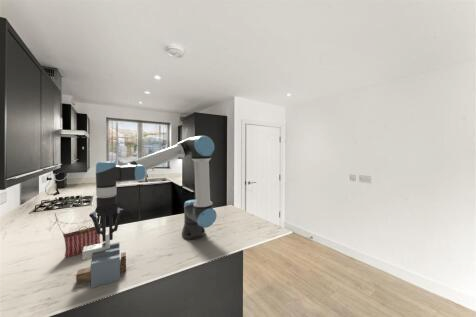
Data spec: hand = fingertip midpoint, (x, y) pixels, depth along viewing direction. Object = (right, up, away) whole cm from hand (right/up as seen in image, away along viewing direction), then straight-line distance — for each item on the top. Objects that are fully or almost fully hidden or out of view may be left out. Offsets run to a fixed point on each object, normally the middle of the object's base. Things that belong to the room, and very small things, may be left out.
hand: (107, 247), depth 88 cm
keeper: (-4, -2, -2) cm, 5 cm away
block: (-1, -12, 0) cm, 12 cm away
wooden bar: (-3, -12, -1) cm, 12 cm away
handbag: (-26, -11, +16) cm, 33 cm away
